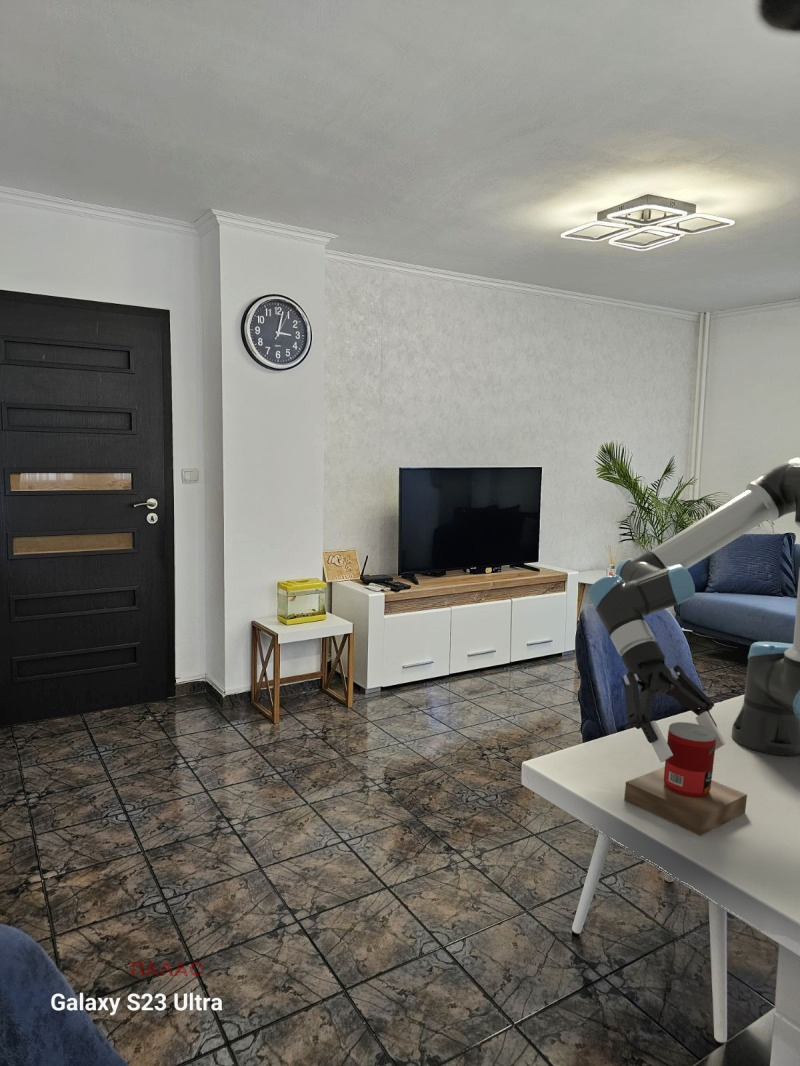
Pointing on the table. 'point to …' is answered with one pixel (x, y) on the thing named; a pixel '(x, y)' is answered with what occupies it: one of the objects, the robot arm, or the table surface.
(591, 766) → the table surface
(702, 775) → the canned food
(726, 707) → the table surface
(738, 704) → the table surface
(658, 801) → the walnut stand
